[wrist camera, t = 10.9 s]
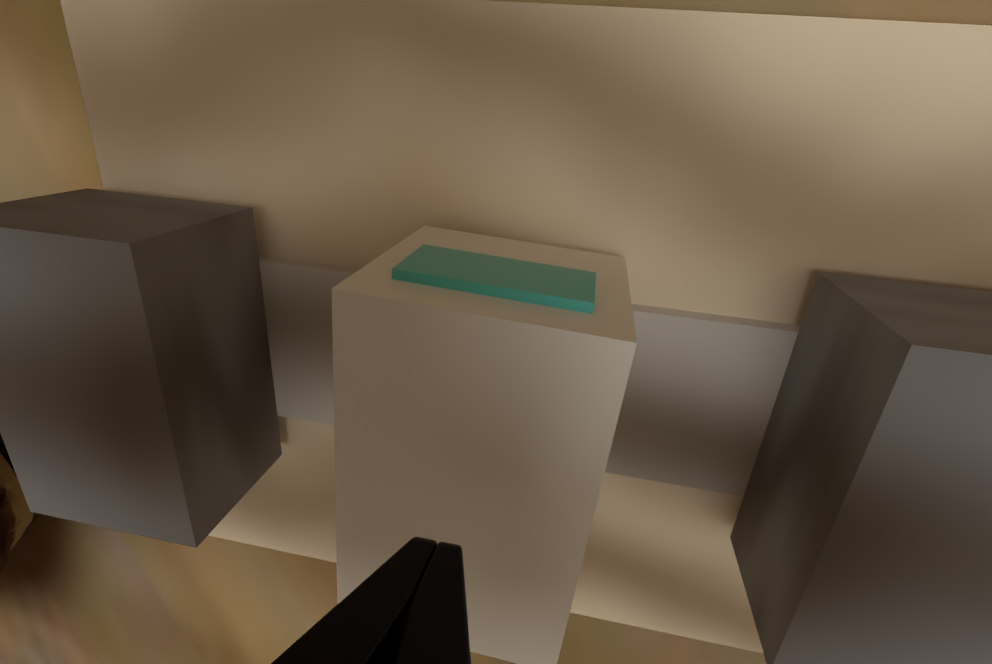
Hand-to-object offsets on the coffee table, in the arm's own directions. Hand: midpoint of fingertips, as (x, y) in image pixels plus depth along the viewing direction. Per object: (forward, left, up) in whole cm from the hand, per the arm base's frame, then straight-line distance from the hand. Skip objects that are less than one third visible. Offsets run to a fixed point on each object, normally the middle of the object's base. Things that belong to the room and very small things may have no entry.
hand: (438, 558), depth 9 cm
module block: (0, 0, -6) cm, 6 cm away
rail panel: (0, 0, -8) cm, 8 cm away
